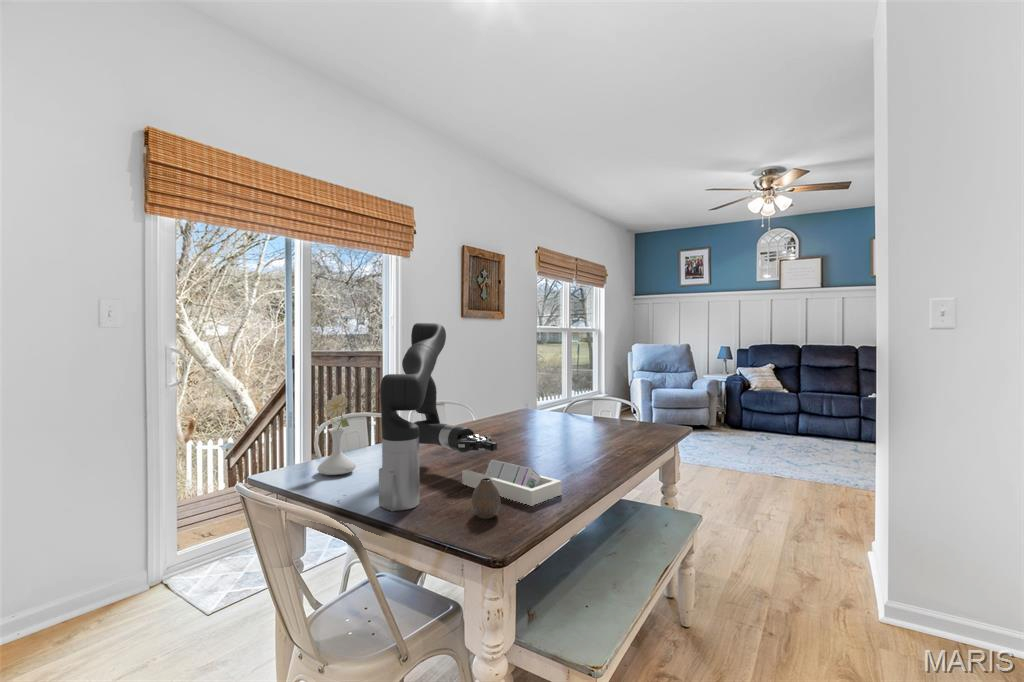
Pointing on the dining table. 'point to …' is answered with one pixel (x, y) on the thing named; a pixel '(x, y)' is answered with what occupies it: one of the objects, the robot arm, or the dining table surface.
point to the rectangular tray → (517, 488)
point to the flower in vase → (336, 440)
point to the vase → (486, 499)
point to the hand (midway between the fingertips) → (495, 447)
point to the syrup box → (513, 473)
